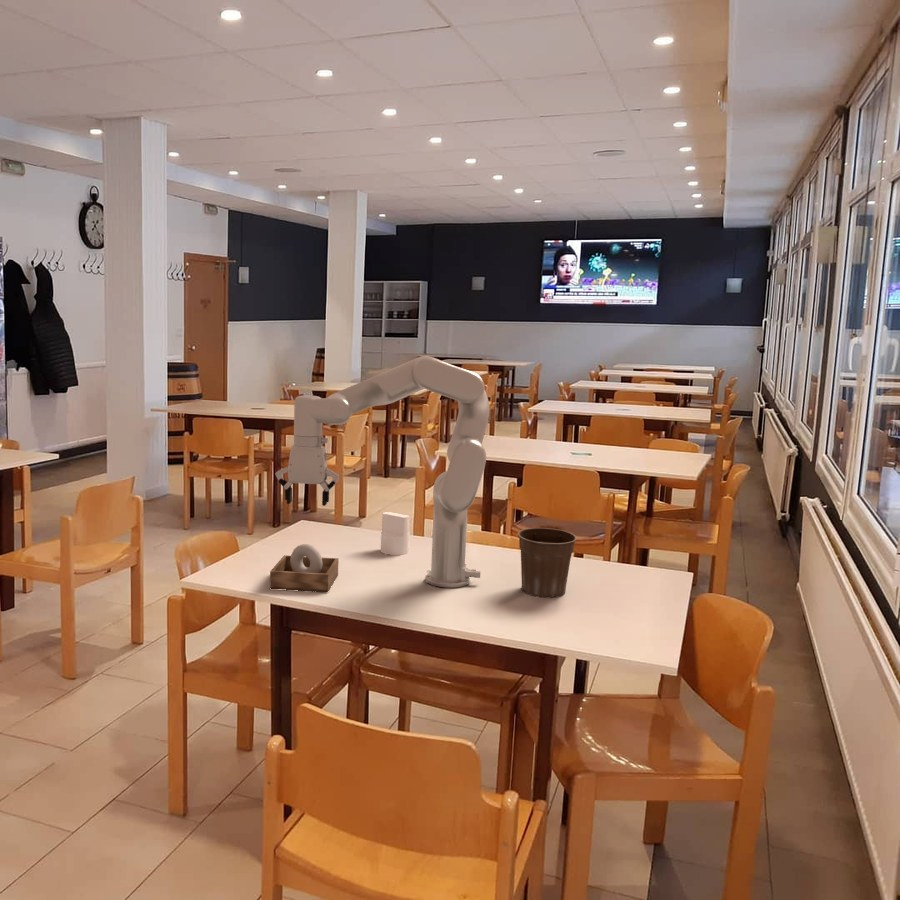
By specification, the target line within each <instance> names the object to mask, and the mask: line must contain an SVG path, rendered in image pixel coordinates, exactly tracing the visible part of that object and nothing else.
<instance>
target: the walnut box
mask: <svg viewBox="0 0 900 900" xmlns="http://www.w3.org/2000/svg"><path fill="white" fill-rule="evenodd" d="M321 557H322V569H321V571H320V573H306V572H294V571H293V570H292V567H291V562H290V559H291V555H283V556H282V557H281V559H279V561H278V562H277V563H276V564H275V565H274V567H273V568H272V569H271V570H269V589H270V588H271V589H286V590H285V591H288V590H298V591H297V592H305V591H312V592H311V593H323V592H328V591H329V592H330V590H331V588H332V587H333V585H334V583H335V582H336V579H337V578H338V577H339V557H323V556H321ZM303 564H304V566H305V567H307V568H309V567H310V560H309V559H308V557H306V556H304V557H303ZM334 581H335V582H334ZM331 586H332V587H331ZM313 591H314V592H313ZM315 591H316V592H315ZM329 592H328V593H329Z"/></svg>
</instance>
